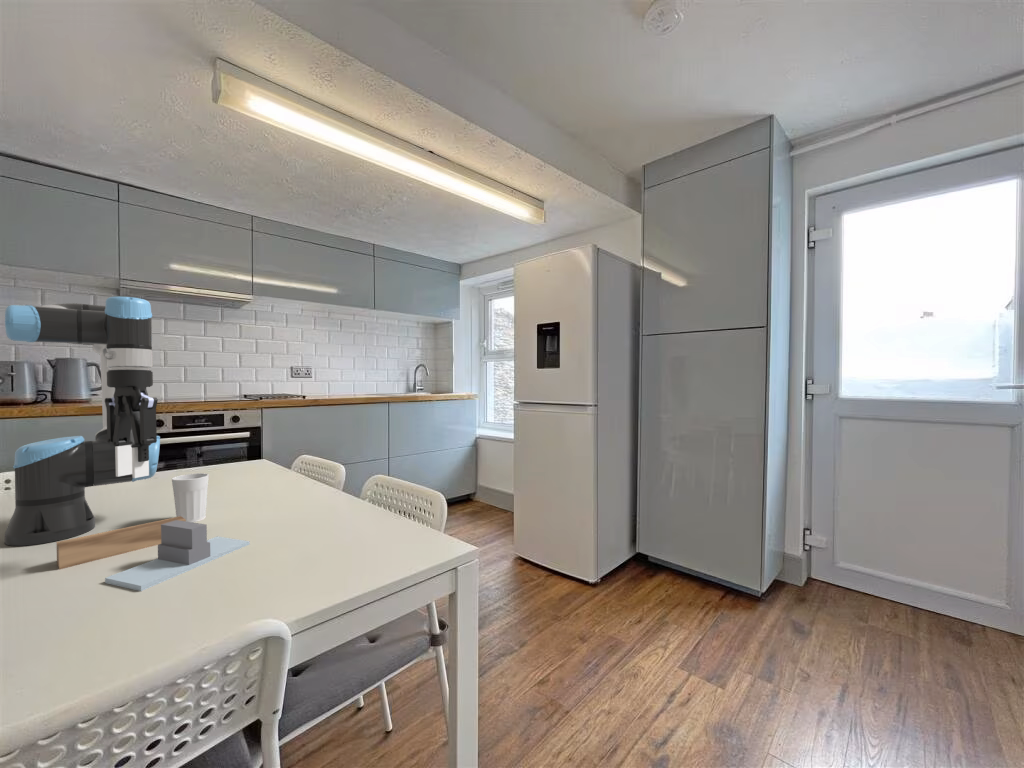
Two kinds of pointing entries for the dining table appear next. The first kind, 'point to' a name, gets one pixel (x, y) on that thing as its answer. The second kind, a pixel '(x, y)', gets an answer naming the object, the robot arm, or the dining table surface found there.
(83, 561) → the bar
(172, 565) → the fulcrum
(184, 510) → the cup
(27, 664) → the dining table surface
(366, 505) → the dining table surface
